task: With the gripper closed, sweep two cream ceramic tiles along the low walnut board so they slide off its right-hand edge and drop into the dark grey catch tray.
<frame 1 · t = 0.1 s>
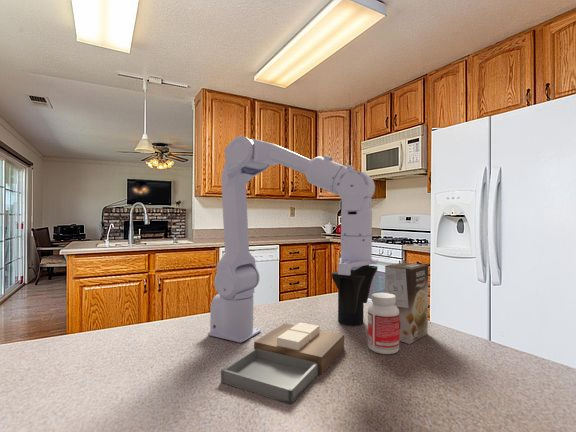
hand: (355, 307, 62), 10 cm above the countertop, tool pointing down, fingers open, 7 cm apart
black water bottle: (350, 322, 84), on the countertop
board: (300, 352, 65), on the countertop
pill bottle: (383, 349, 67), on the countertop
tile a: (304, 334, 67), point 3 cm above the countertop, touching board
tray: (270, 378, 55), on the countertop
tile b: (293, 343, 62), point 3 cm above the countertop, touching board
coffee box: (406, 336, 75), on the countertop
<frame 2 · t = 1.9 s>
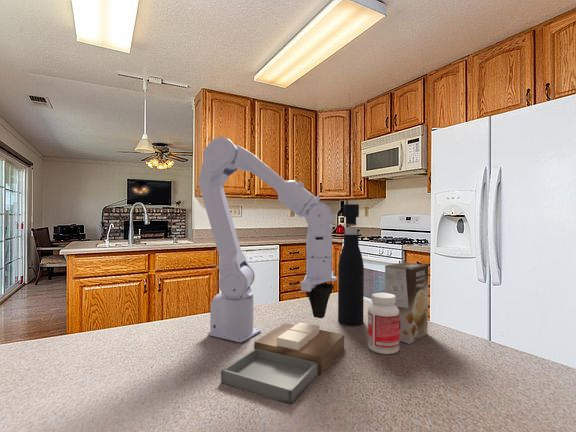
hand: (319, 316, 73), 4 cm above the countertop, tool pointing down, fingers closed
nothing on the countertop moved.
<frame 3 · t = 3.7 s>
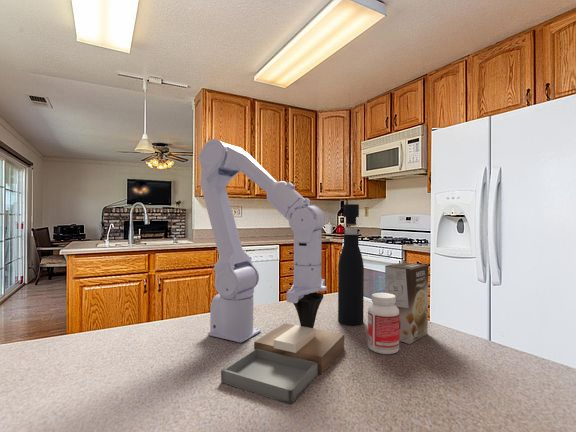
hand: (307, 329, 68), 4 cm above the countertop, tool pointing down, fingers closed
tile a: (300, 337, 65), point 3 cm above the countertop, touching gripper, tile b
tile b: (290, 345, 61), point 3 cm above the countertop, touching tile a
everything else where it was.
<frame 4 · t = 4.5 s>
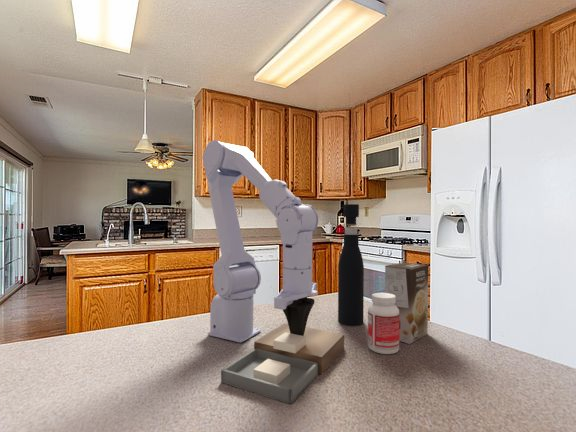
hand: (297, 336, 64), 4 cm above the countertop, tool pointing down, fingers closed
tile a: (289, 346, 61), point 3 cm above the countertop, touching board, gripper
tile b: (272, 366, 55), point 2 cm above the countertop, tilted 180°, touching tray
everything else where it was.
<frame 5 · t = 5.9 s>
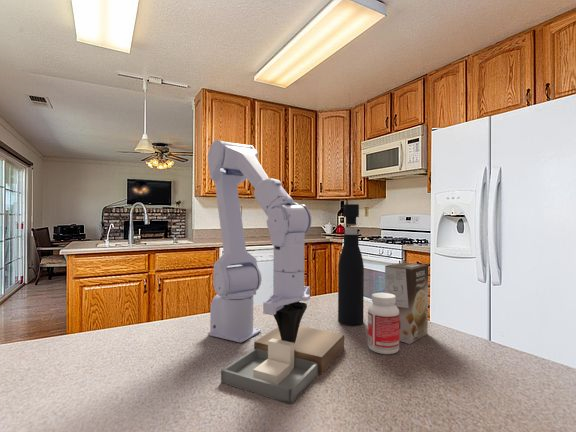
hand: (288, 343, 61), 4 cm above the countertop, tool pointing down, fingers closed
tile a: (283, 353, 59), point 3 cm above the countertop, tilted 90°, touching tray
everything else where it was.
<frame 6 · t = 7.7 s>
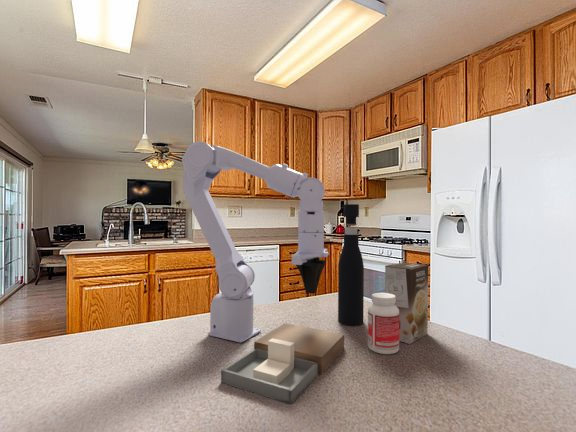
hand: (310, 292, 73), 10 cm above the countertop, tool pointing down, fingers closed
nothing on the countertop moved.
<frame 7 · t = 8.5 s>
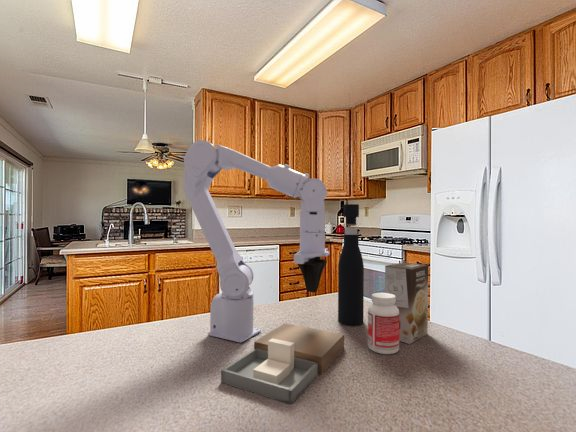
hand: (312, 291, 75), 10 cm above the countertop, tool pointing down, fingers closed
nothing on the countertop moved.
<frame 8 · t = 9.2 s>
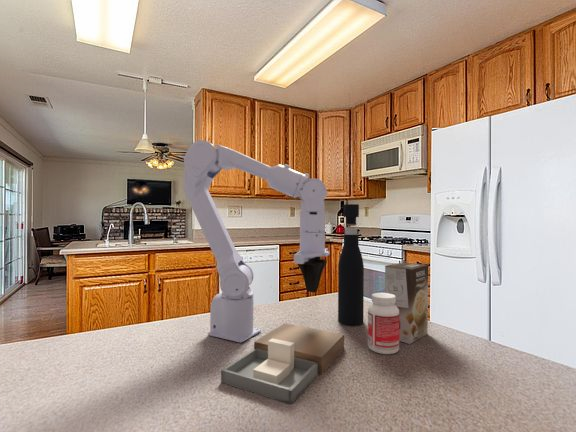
hand: (312, 291, 75), 10 cm above the countertop, tool pointing down, fingers closed
nothing on the countertop moved.
at the end: tile a inside the target area on the tray (4.2 cm from its centre), point 2.6 cm above the tray's base; tile b inside the target area on the tray (0.1 cm from its centre), point 1.9 cm above the tray's base; tile a touching tray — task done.
